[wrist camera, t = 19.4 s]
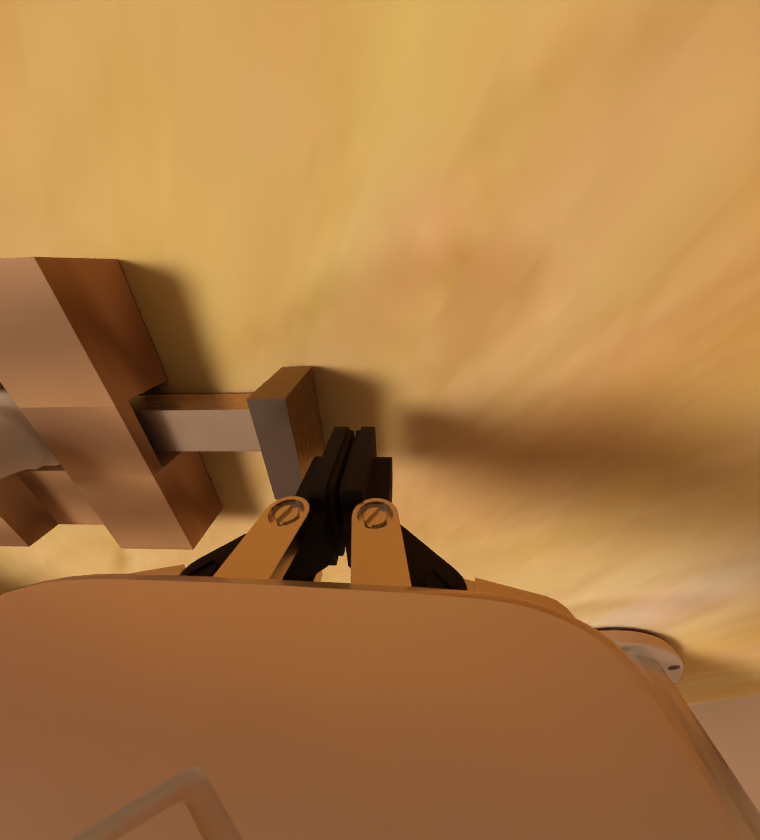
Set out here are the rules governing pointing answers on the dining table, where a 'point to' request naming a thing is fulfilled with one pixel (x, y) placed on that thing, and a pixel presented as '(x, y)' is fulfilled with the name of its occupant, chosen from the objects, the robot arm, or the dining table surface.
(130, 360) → the mount
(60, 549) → the dining table surface
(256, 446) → the lock pin
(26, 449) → the rook chess piece
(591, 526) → the dining table surface
